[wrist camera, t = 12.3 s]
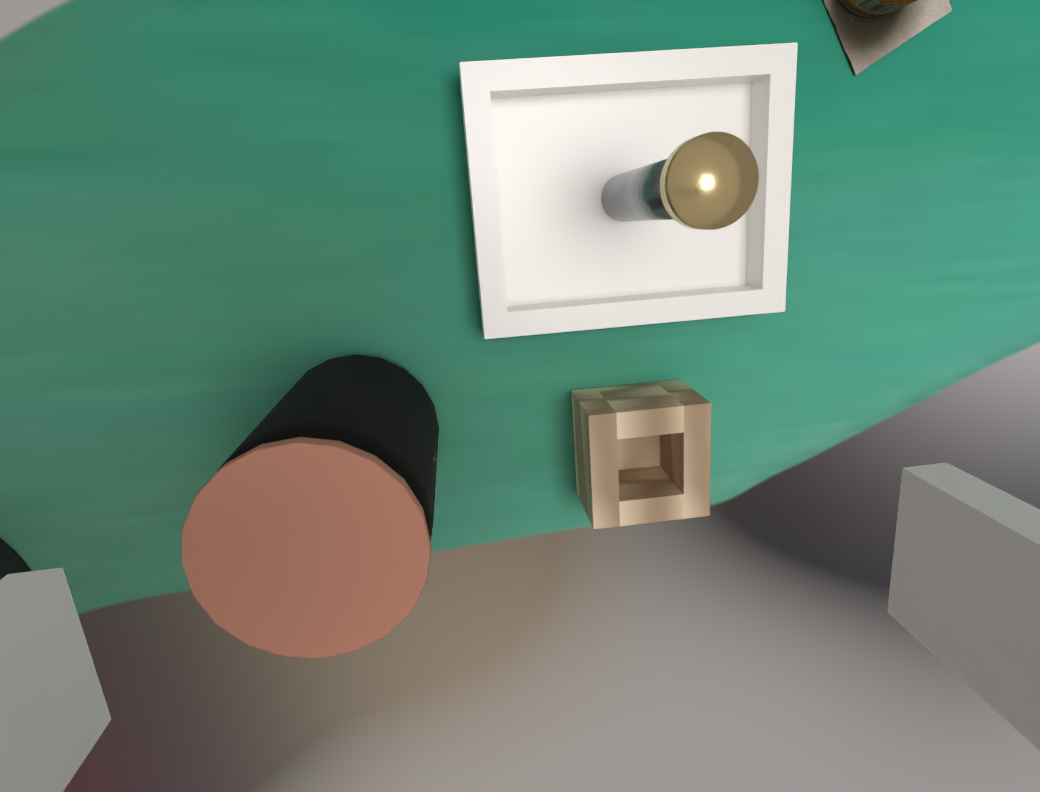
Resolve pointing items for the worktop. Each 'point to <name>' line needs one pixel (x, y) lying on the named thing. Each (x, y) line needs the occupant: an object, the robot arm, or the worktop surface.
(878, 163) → the worktop surface
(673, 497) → the block
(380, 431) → the coffee jar
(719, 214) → the steel pin
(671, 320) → the tray
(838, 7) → the condiment
